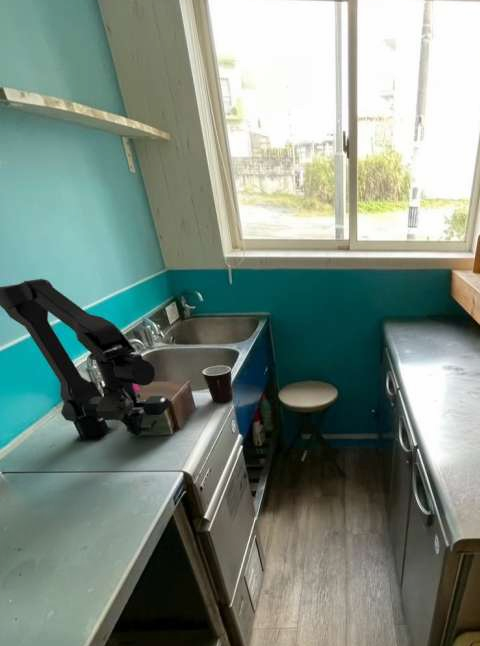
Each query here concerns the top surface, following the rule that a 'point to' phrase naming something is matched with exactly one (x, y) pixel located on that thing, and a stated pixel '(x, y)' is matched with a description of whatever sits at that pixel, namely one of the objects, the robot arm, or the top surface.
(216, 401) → the dark brown cup
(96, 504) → the top surface
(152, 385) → the cabinet
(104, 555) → the top surface
